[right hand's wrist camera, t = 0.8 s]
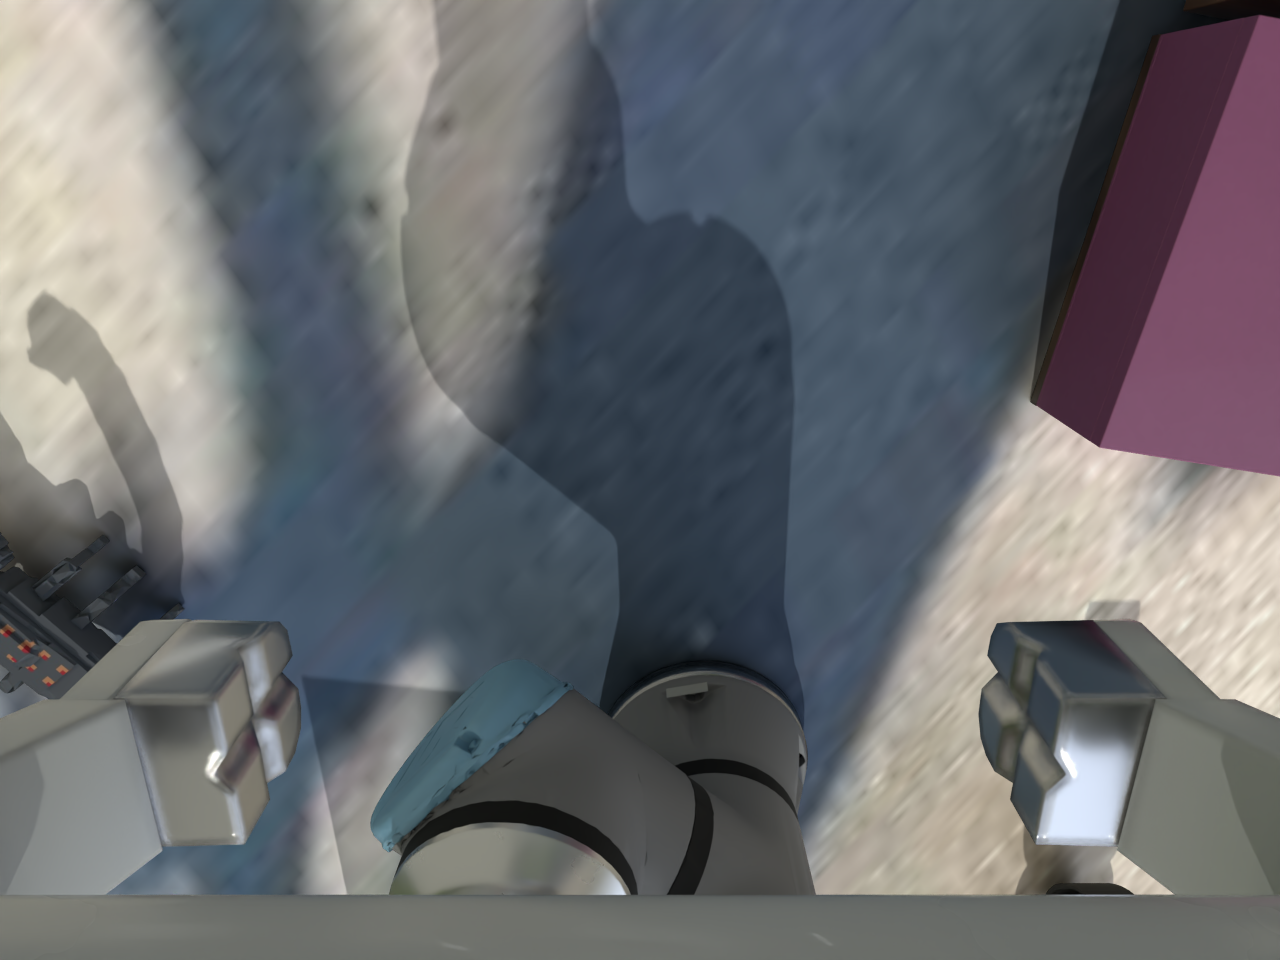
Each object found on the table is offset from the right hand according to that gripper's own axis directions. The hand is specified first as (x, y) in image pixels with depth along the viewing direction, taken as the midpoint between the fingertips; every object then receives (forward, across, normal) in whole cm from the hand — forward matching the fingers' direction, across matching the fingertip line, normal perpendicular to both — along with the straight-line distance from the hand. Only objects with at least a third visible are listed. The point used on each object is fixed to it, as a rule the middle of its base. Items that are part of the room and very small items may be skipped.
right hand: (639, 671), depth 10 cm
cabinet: (+46, -33, +1) cm, 56 cm away
